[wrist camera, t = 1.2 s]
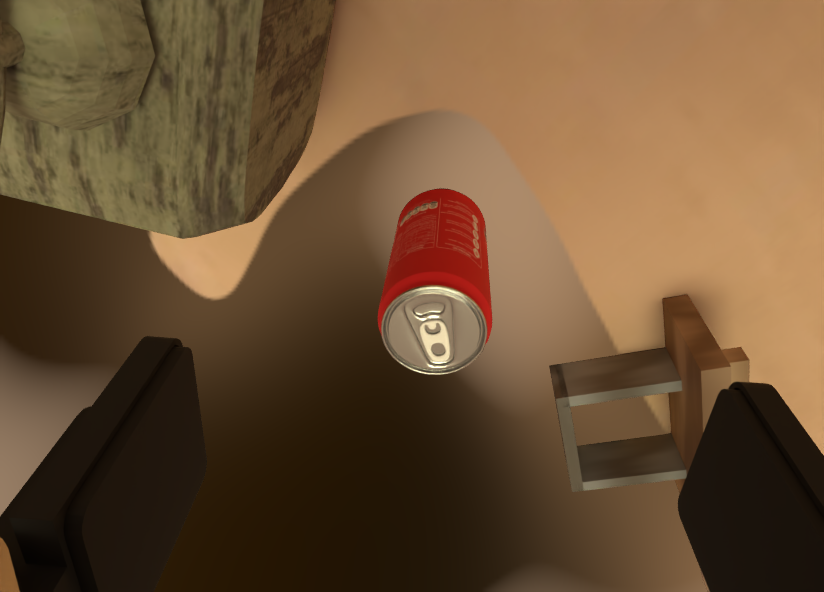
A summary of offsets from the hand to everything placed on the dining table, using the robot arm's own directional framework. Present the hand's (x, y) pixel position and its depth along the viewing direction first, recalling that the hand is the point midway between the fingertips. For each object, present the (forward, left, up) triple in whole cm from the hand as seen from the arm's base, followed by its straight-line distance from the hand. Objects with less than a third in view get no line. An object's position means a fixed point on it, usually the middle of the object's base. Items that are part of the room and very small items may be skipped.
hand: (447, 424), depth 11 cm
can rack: (-6, +23, -27) cm, 36 cm away
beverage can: (+3, +7, -27) cm, 28 cm away
